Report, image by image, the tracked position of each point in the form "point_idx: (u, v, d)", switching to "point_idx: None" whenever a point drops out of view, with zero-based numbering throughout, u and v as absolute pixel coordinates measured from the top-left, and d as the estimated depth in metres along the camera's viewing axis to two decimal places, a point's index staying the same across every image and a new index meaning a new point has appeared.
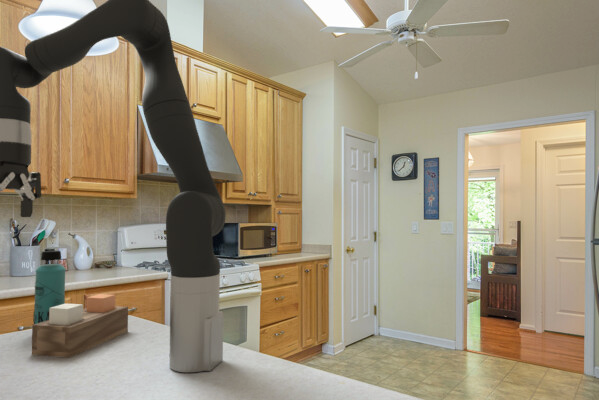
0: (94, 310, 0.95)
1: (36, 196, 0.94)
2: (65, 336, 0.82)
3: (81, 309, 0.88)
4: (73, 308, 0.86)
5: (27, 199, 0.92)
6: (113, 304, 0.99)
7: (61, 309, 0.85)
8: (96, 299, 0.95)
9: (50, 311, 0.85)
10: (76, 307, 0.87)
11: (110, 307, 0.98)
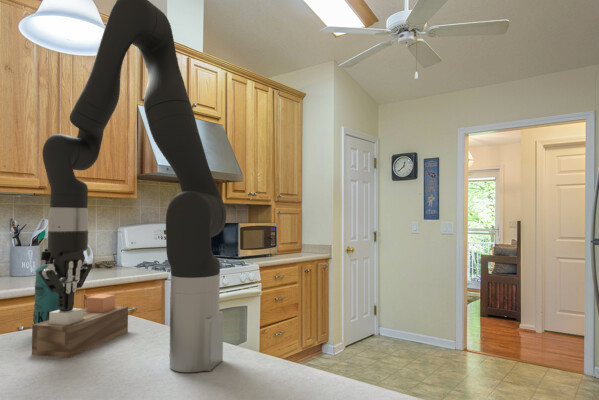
0: (94, 310, 0.95)
1: (77, 284, 0.89)
2: (65, 336, 0.82)
3: (81, 313, 0.88)
4: (73, 312, 0.86)
5: (69, 292, 0.87)
6: (113, 304, 0.99)
7: (61, 313, 0.85)
8: (96, 299, 0.95)
9: (50, 315, 0.85)
10: (76, 311, 0.87)
11: (110, 307, 0.98)
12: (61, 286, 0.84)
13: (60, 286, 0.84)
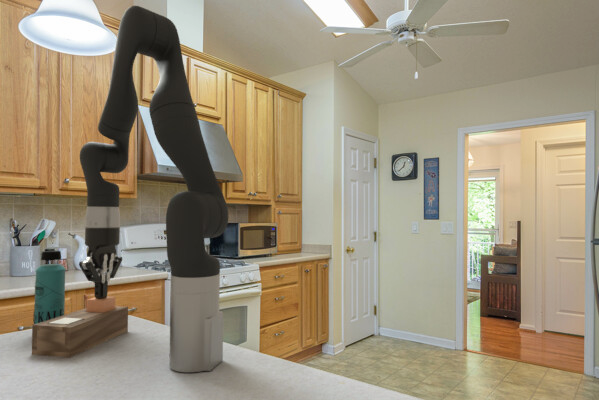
0: None
1: (110, 275, 1.00)
2: (65, 336, 0.82)
3: None
4: None
5: (104, 281, 0.98)
6: (113, 306, 0.99)
7: (61, 324, 0.85)
8: (96, 301, 0.95)
9: None
10: None
11: (110, 309, 0.98)
12: (97, 276, 0.95)
13: (97, 276, 0.95)
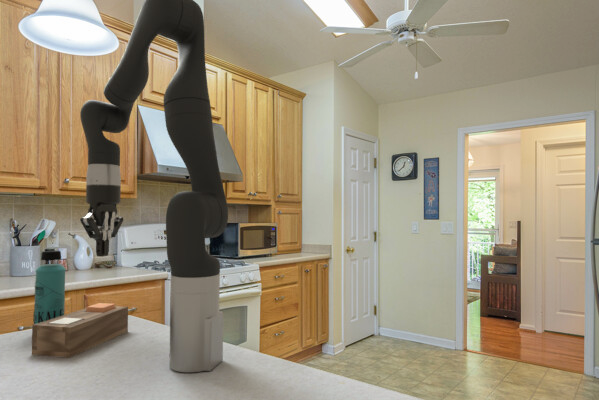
0: None
1: (111, 234, 1.00)
2: (65, 336, 0.82)
3: None
4: None
5: (105, 239, 0.98)
6: None
7: (61, 324, 0.85)
8: (96, 308, 0.95)
9: None
10: None
11: None
12: (99, 233, 0.95)
13: (98, 233, 0.95)
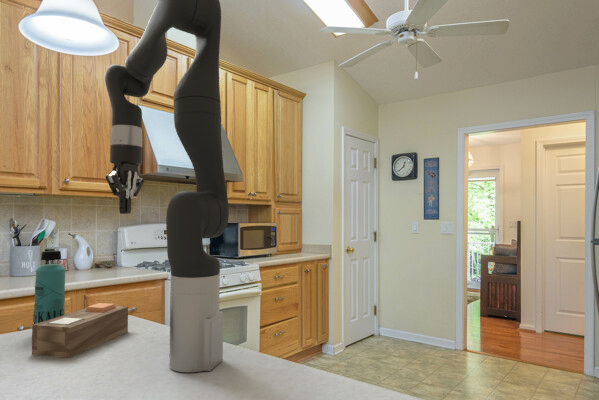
0: None
1: (133, 193, 1.05)
2: (65, 336, 0.82)
3: None
4: None
5: (128, 198, 1.03)
6: None
7: (61, 324, 0.85)
8: (96, 308, 0.95)
9: None
10: None
11: None
12: (122, 190, 1.00)
13: (122, 190, 1.00)
